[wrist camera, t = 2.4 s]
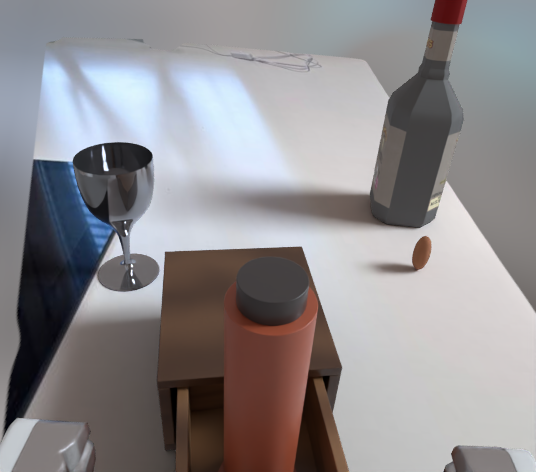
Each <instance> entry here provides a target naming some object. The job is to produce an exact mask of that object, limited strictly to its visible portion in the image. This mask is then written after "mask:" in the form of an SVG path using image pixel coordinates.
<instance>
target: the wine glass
mask: <svg viewBox="0 0 536 472" xmlns="http://www.w3.org/2000/svg"><path fill="white" fill-rule="evenodd" d="M73 167H74V172H75V177H76V181H77V185H78V188H79V191H80V194H81V196H82V198H83V200H84V203H85V205H86V206H87V208H88V209H89V211H90V212H91V213H92V214H93V215H94V216H95V217H96V218H98V219H99V220H101V221H102V222H104V223H106V224H107V225H109V226H110V227H112V228H113V229H114V230H115V231H116V233H117V234H118V236H119V239H120V242H121V246H122V250H123V255H121V256H117V257H115V258H113V259H111V260H109V261H107V262H106V263H105V264H104V265H103V266H102V267H101V268H100V271H99V274H98V277H99V280H100V282H101V283H102V285H104V286H105V287H107V288H109V289H112V290H116V291H132V290H137V289H140V288H143V287H145V286H147V285H149V284H150V283H152V282H153V281H154V280H155V279H156V278H157V276H158V274H159V265H158V264H157V262H156V261H155V260H154V259H152V258H151V257H149V256H146V255H142V254H130V232H131V229H132V227H133V226H134V224H135V223H136V222H137V221H138V220H139V219H140V218H141V217H142V215H143V214H144V213H145V212H146V211H147V209H148V208H149V206H150V203H151V200H152V195H153V189H154V164H153V155H152V153H151V152H150V151H149V150H148V149H147V148H145V147H143V146H140V145H137V144H132V143H122V142H115V143H104V144H99V145H94V146H91V147H88V148H86V149H84V150H82V151H80V152H79V153H77V154H76V155H75V157H74V158H73Z"/></svg>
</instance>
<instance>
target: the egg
mask: <svg viewBox="0 0 536 472" xmlns="http://www.w3.org/2000/svg"><path fill="white" fill-rule="evenodd" d="M430 253H431V241H430V239H429V237H427V236H424V237H422V238H421V239H420V240H419V241H418V242H417V244H416V246H415V248H414V251H413V257H412V262H413V266H414V268H415V269H417V270H419V269H422V268H423V267H424V266H425V265H426V263H427V261H428V259H429V257H430Z"/></svg>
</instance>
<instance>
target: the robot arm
mask: <svg viewBox="0 0 536 472" xmlns="http://www.w3.org/2000/svg"><path fill="white" fill-rule="evenodd" d="M90 432H91V431H90V428H89V425H88V423H84V422H68V421H52V420H42V419H26V418H17V419H16V420H15V421H14V422H13V423H12V424H11V425H10V426H9V428H8V430H7V432H6V434H5V435H4V437H3V439H2V441H1V443H0V472H93V471H94V465H95V460H96V457H95V446H94V443H92V442H91V441H90V440H89V439H88V437H89V435H90ZM451 455H452V459H453V462H451V463H449V464H448V465H446V466H445V469H444V471H443V472H536V462H535V459H534V457H533V455H532V454H531V453H530V452H529V451H528V450H525V449H514V448H502V447H482V446H456V447H454V449H453V451H452V453H451Z"/></svg>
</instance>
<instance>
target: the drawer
mask: <svg viewBox="0 0 536 472" xmlns="http://www.w3.org/2000/svg"><path fill="white" fill-rule="evenodd" d="M223 461H224V384H213V385H200V386H187V387H177V424H176V472H218V471H219V468H220V466H221V464H222V463H223ZM294 467H295V469H296V472H349V469H348V466H347V462H346V459H345V455H344V452H343V448H342V445H341V441H340V438H339V434H338V431H337V427H336V424H335V420H334V417H333V413H332V410H331V406H330V403H329V399H328V396H327V392H326V389H325V385H324V382H323V378H322V376H315V377H308V378H307V385H306V392H305V398H304V405H303V411H302V418H301V425H300V431H299V438H298V445H297V451H296V458H295V464H294Z"/></svg>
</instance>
